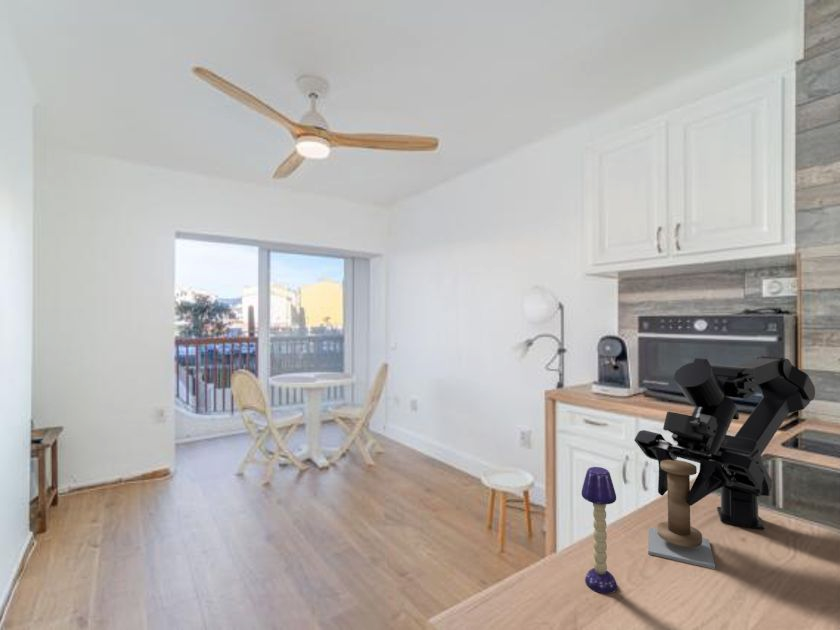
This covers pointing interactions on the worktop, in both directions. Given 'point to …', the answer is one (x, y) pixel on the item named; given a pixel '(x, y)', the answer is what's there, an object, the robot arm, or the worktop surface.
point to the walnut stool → (679, 505)
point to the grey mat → (680, 550)
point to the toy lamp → (599, 526)
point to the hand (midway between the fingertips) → (673, 498)
